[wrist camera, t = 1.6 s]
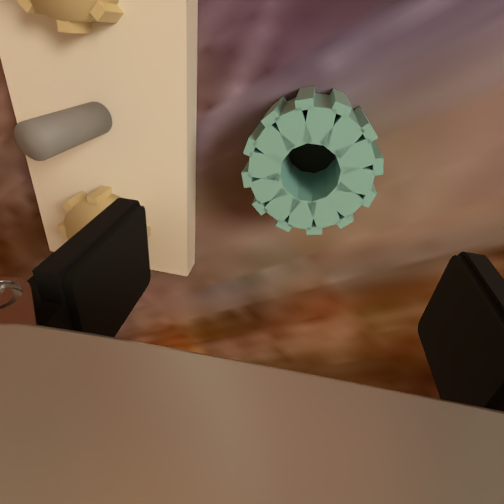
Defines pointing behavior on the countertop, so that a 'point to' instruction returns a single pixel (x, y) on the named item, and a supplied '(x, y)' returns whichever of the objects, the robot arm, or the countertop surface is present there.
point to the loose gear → (319, 183)
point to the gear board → (137, 106)
